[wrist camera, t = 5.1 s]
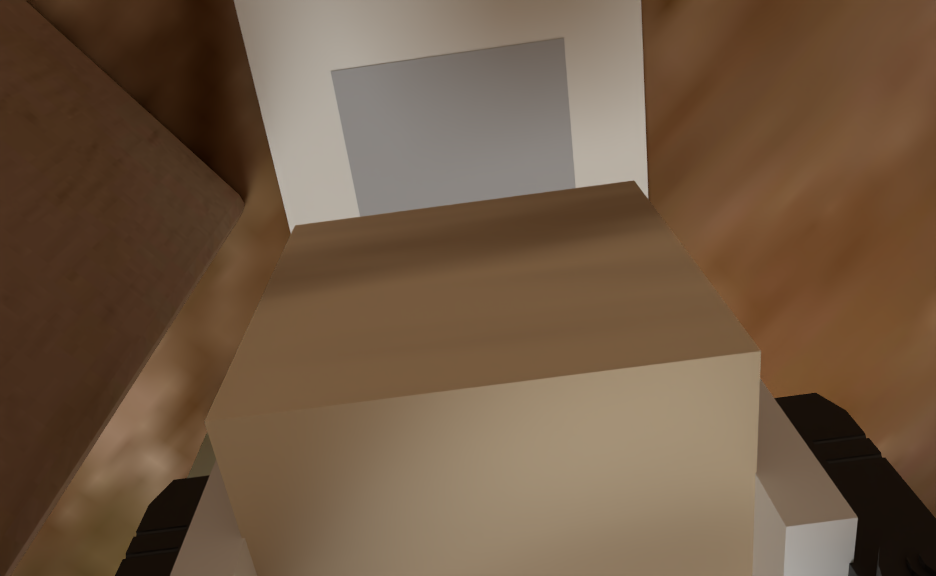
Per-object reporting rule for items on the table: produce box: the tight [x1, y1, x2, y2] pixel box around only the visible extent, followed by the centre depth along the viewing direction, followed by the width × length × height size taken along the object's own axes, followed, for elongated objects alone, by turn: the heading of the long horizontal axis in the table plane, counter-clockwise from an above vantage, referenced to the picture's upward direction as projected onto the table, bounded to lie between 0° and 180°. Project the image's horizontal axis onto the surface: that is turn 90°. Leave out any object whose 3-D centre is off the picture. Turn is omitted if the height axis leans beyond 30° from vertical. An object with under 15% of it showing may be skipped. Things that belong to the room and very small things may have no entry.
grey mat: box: [234, 0, 648, 233], centre depth 26 cm, size 12×12×1 cm
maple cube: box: [204, 180, 761, 576], centre depth 12 cm, size 6×6×6 cm
